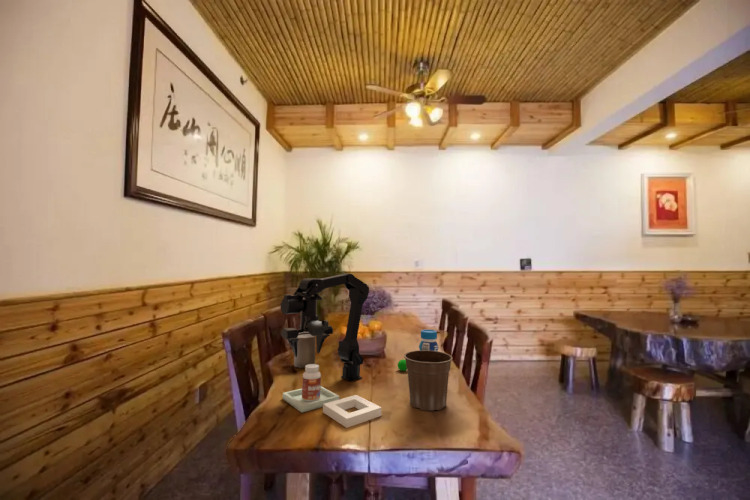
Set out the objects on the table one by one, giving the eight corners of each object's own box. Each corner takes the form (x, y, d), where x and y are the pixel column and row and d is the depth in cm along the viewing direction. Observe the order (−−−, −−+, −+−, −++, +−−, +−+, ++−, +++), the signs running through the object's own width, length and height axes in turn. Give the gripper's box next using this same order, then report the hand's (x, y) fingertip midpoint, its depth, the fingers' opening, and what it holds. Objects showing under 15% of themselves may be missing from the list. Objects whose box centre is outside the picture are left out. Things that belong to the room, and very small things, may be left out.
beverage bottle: (414, 377, 140) (415, 329, 141) (432, 375, 143) (432, 328, 144) (424, 383, 132) (425, 333, 133) (442, 381, 135) (443, 332, 136)
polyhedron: (396, 369, 151) (397, 358, 152) (407, 369, 152) (407, 358, 152) (398, 372, 146) (398, 361, 147) (409, 372, 147) (409, 361, 147)
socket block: (356, 402, 112) (356, 394, 112) (381, 415, 102) (381, 407, 102) (322, 412, 103) (323, 403, 104) (346, 427, 93) (346, 418, 94)
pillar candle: (319, 364, 155) (320, 332, 156) (304, 369, 147) (305, 335, 148) (304, 361, 160) (305, 330, 162) (289, 366, 152) (290, 333, 153)
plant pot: (414, 416, 102) (414, 363, 103) (396, 397, 117) (397, 351, 118) (461, 411, 106) (461, 360, 107) (438, 393, 122) (438, 349, 123)
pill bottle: (307, 404, 108) (308, 369, 109) (298, 398, 113) (299, 365, 114) (323, 399, 112) (324, 366, 113) (314, 394, 117) (315, 362, 118)
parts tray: (318, 390, 122) (318, 384, 122) (339, 402, 112) (339, 396, 112) (282, 398, 113) (282, 392, 114) (301, 412, 103) (301, 406, 103)
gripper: (295, 316, 111) (293, 364, 110) (341, 313, 123) (340, 355, 122) (281, 313, 120) (279, 356, 119) (326, 310, 131) (324, 349, 130)
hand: (307, 354), depth 122 cm, fingers open, 9 cm apart
